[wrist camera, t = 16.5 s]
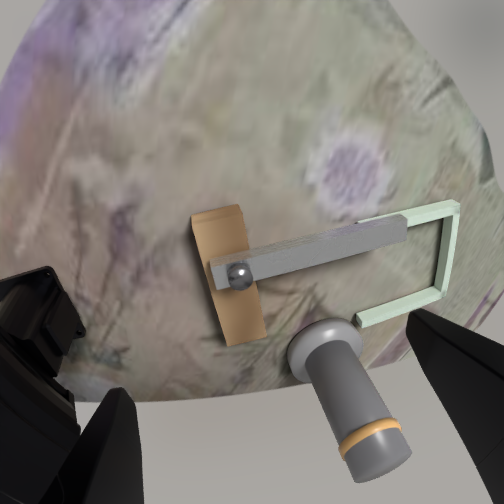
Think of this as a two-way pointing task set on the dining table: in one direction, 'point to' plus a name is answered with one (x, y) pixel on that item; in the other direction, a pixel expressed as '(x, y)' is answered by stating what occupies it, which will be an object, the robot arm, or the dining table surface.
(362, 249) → the lever
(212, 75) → the dining table surface
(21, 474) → the robot arm
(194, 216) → the latch rail
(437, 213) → the pale green u-shaped bracket
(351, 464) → the plug
